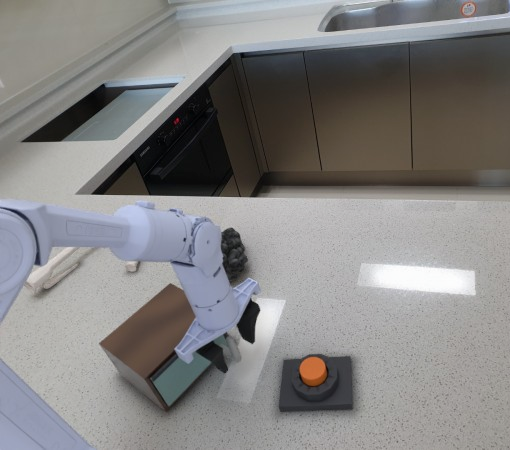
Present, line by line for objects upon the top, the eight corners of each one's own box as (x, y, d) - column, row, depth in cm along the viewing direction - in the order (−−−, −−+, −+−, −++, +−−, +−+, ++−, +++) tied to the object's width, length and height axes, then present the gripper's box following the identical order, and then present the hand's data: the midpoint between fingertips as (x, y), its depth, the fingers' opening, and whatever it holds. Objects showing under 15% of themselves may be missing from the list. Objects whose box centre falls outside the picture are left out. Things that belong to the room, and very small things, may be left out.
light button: (300, 387, 63) (298, 379, 62) (302, 364, 66) (300, 357, 65) (326, 386, 62) (325, 378, 61) (327, 363, 65) (325, 356, 64)
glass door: (251, 355, 70) (240, 326, 66) (189, 423, 63) (173, 395, 59) (228, 341, 73) (216, 313, 69) (167, 405, 66) (149, 378, 62)
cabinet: (232, 343, 74) (217, 308, 69) (166, 412, 67) (144, 378, 62) (186, 316, 81) (170, 282, 76) (121, 376, 73) (98, 343, 68)
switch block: (280, 411, 64) (276, 399, 62) (285, 364, 69) (281, 352, 68) (352, 409, 62) (350, 397, 60) (351, 361, 68) (349, 348, 66)
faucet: (29, 294, 93) (106, 231, 107) (93, 323, 86) (166, 252, 100) (18, 276, 89) (98, 214, 104) (82, 305, 83) (160, 234, 97)
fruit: (212, 205, 91) (198, 254, 79) (254, 210, 91) (247, 259, 79) (210, 239, 96) (197, 290, 84) (250, 243, 97) (243, 295, 84)
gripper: (226, 248, 66) (249, 311, 75) (147, 317, 58) (182, 379, 67) (262, 264, 62) (281, 328, 71) (182, 340, 54) (215, 402, 63)
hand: (236, 354), depth 68 cm, fingers open, 5 cm apart
